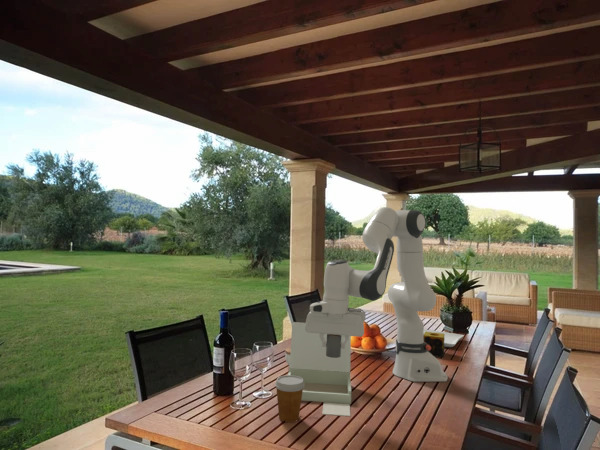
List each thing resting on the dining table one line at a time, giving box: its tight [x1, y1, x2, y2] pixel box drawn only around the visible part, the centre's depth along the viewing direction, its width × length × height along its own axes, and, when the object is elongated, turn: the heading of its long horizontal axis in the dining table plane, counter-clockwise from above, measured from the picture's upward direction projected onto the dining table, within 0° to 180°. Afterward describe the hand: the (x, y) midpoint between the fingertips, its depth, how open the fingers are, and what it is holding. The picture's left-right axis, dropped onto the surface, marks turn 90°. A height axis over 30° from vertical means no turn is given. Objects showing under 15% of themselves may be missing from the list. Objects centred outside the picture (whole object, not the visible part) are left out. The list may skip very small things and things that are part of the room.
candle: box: [423, 332, 445, 358], centre depth 204 cm, size 10×10×10 cm
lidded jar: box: [284, 346, 291, 366], centre depth 177 cm, size 11×11×9 cm
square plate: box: [423, 329, 465, 348], centre depth 230 cm, size 27×27×4 cm
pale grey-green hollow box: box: [287, 321, 352, 405], centre depth 151 cm, size 24×25×23 cm
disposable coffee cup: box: [274, 374, 305, 423], centre depth 127 cm, size 10×10×12 cm
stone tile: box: [321, 402, 351, 417], centre depth 132 cm, size 9×9×1 cm
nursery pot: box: [326, 334, 341, 358], centre depth 137 cm, size 5×5×9 cm
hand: (333, 347), depth 136 cm, fingers closed on nursery pot, 5 cm apart
